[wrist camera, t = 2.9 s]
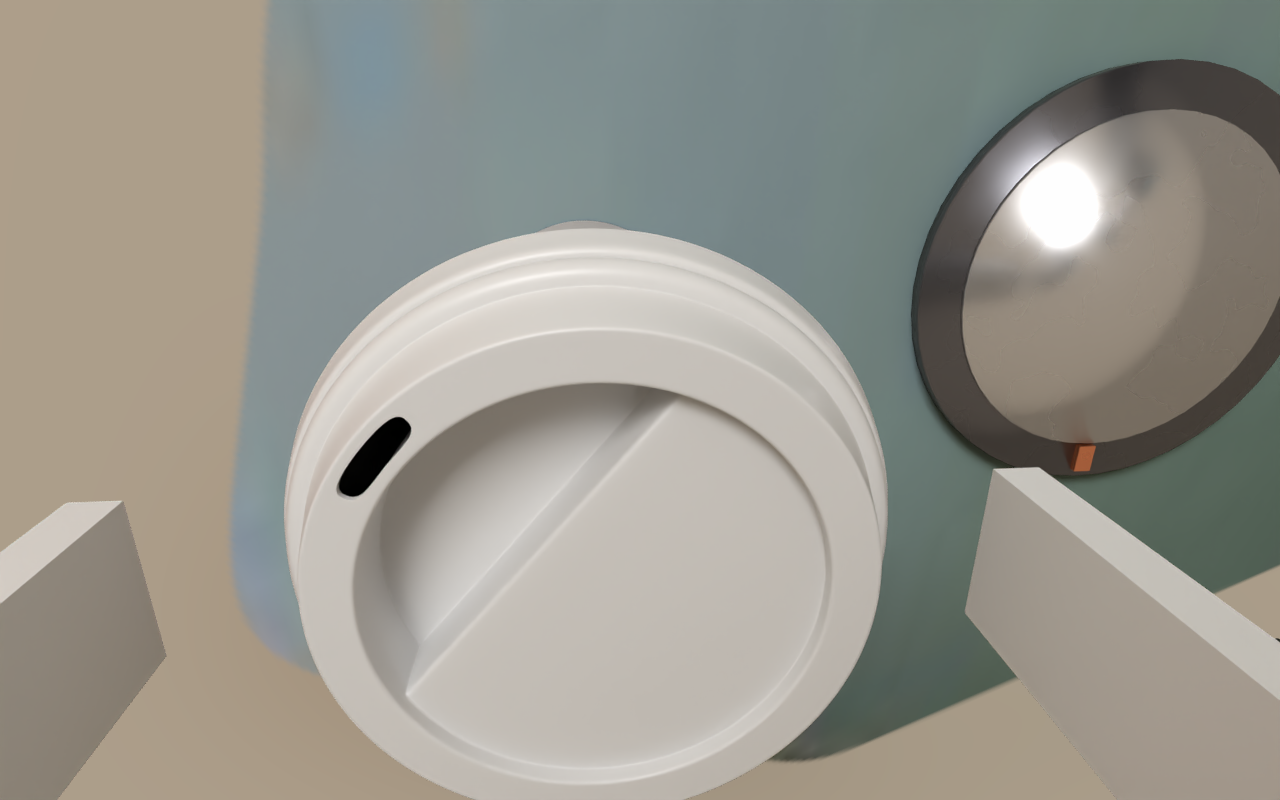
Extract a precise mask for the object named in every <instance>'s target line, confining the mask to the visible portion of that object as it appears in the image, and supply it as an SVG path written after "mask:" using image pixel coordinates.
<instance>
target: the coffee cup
mask: <svg viewBox="0 0 1280 800" xmlns="http://www.w3.org/2000/svg"><path fill="white" fill-rule="evenodd" d="M887 521H888V489H887V476H886V468H885V462H884V456H883V451H882V447H881V442H880V439H879V435H878V431H877V428H876V425H875V422H874V418H873V415H872V412H871V409H870V406H869V403H868V401H867V398H866V396H865V393H864V391H863V389H862V387H861V385H860V383H859V381H858V378H857V376H856V375H855V373H854V371H853V369H852V367H851V366H850V364H849V362H848V361H847V359H846V358H845V356H844V354H843V353H842V352H841V350H840V349H839V347H838V346H837V344H836V343H835V342H834V341H833V339H832V338H831V337H830V335H829V334H828V333H827V332H826V331H825V329H824V328H823V327H822V326H821V325H820V324H819V323H818V322H817V321H816V320H815V318H814V317H813V316H812V315H811V314H810V313H809V312H808V311H806V310H805V309H804V308H803V307H802V306H801V305H800V304H799V303H798V302H797V301H795V300H794V299H793V298H792V297H791V296H789V295H788V294H787V293H786V292H784V291H783V290H782V289H780V288H779V287H778V286H776V285H775V284H773V283H772V282H771V281H769V280H768V279H766V278H764V277H763V276H761V275H760V274H758V273H756V272H755V271H753V270H751V269H749V268H748V267H746V266H744V265H742V264H740V263H738V262H736V261H734V260H732V259H730V258H728V257H726V256H723V255H721V254H719V253H716V252H714V251H711V250H709V249H706V248H703V247H700V246H698V245H695V244H691V243H688V242H685V241H681V240H678V239H674V238H670V237H665V236H661V235H656V234H650V233H644V232H638V231H629V230H626V229H623V228H621V227H618V226H615V225H612V224H608V223H603V222H597V221H571V222H565V223H560V224H556V225H553V226H550V227H547V228H545V229H543V230H540V231H538V232H537V233H533V234H528V235H523V236H518V237H514V238H510V239H506V240H502V241H499V242H495V243H492V244H489V245H486V246H483V247H480V248H477V249H474V250H472V251H469V252H467V253H464V254H462V255H459V256H457V257H455V258H453V259H450V260H448V261H446V262H444V263H442V264H440V265H438V266H436V267H434V268H433V269H431V270H429V271H427V272H425V273H424V274H422V275H420V276H419V277H417V278H416V279H414V280H412V281H411V282H409V283H408V284H406V285H405V286H403V287H402V288H401V289H399V290H398V291H396V292H395V293H394V294H393V295H391V296H390V297H389V298H387V299H386V300H385V301H384V302H383V303H381V304H380V305H379V306H378V307H377V308H375V309H374V310H373V311H372V312H371V313H370V314H369V315H368V316H367V317H366V318H365V319H364V320H363V321H362V322H361V323H360V324H359V325H358V326H357V327H356V328H355V329H354V330H353V332H352V333H351V334H350V335H349V336H348V337H347V338H346V340H345V341H344V342H343V343H342V345H341V346H340V347H339V348H338V350H337V351H336V353H335V354H334V355H333V357H332V358H331V360H330V361H329V363H328V364H327V366H326V367H325V369H324V371H323V372H322V374H321V376H320V378H319V379H318V381H317V383H316V385H315V387H314V389H313V391H312V393H311V395H310V397H309V399H308V402H307V404H306V406H305V409H304V411H303V414H302V417H301V420H300V423H299V426H298V429H297V433H296V436H295V440H294V444H293V449H292V454H291V459H290V464H289V469H288V475H287V481H286V489H285V503H284V524H285V537H286V547H287V557H288V563H289V569H290V574H291V579H292V583H293V586H294V590H295V594H296V597H297V600H298V603H299V609H300V615H301V620H302V625H303V629H304V633H305V637H306V640H307V643H308V646H309V649H310V652H311V655H312V657H313V660H314V662H315V664H316V666H317V669H318V671H319V673H320V675H321V677H322V679H323V680H324V682H325V684H326V686H327V687H328V689H329V691H330V692H331V694H332V695H333V697H334V698H335V700H336V701H337V703H338V704H339V705H340V707H341V708H342V709H343V711H344V712H345V713H346V714H347V716H348V717H349V718H350V719H351V720H352V721H353V723H354V724H355V725H356V726H357V727H358V728H359V729H360V730H361V731H362V732H363V733H364V734H365V735H366V736H367V737H368V738H369V739H370V740H371V741H372V742H374V743H375V744H376V745H377V746H378V747H379V748H381V749H382V750H383V751H384V752H385V753H387V754H388V755H389V756H391V757H392V758H393V759H395V760H396V761H398V762H399V763H401V764H402V765H404V766H405V767H407V768H408V769H410V770H412V771H413V772H415V773H416V774H418V775H420V776H421V777H423V778H425V779H427V780H429V781H431V782H433V783H435V784H437V785H439V786H441V787H444V788H446V789H448V790H450V791H453V792H455V793H458V794H460V795H463V796H465V797H468V798H471V799H475V800H685V799H688V798H691V797H694V796H697V795H700V794H702V793H705V792H708V791H710V790H712V789H715V788H717V787H719V786H721V785H724V784H726V783H728V782H730V781H732V780H734V779H736V778H738V777H740V776H742V775H743V774H745V773H747V772H749V771H750V770H752V769H754V768H756V767H757V766H759V765H760V764H762V763H764V762H765V761H766V760H768V759H769V758H771V757H772V756H774V755H775V754H777V753H778V752H779V751H781V750H782V749H783V748H784V747H786V746H787V745H788V744H790V743H791V742H792V741H793V740H794V739H795V738H797V737H798V736H799V735H800V734H801V733H802V732H803V731H804V730H805V729H807V728H808V727H809V726H810V725H811V724H812V723H813V722H814V721H815V719H816V718H817V717H818V716H819V715H820V714H821V713H822V712H823V711H824V709H825V708H826V707H827V706H828V705H829V703H830V702H831V701H832V700H833V698H834V697H835V696H836V694H837V693H838V692H839V690H840V689H841V687H842V686H843V684H844V683H845V681H846V680H847V678H848V677H849V675H850V673H851V672H852V670H853V668H854V666H855V664H856V663H857V661H858V659H859V657H860V655H861V652H862V650H863V648H864V646H865V643H866V641H867V638H868V636H869V633H870V630H871V627H872V624H873V620H874V617H875V613H876V608H877V604H878V598H879V592H880V584H881V571H882V562H883V557H884V551H885V544H886V536H887Z"/></svg>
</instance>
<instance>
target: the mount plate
mask: <svg viewBox="0 0 1280 800" xmlns="http://www.w3.org/2000/svg"><path fill="white" fill-rule="evenodd" d="M911 317H912V336H913V344H914V349H915V354H916V359H917V364H918V367H919V370H920V372H921V375H922V378H923V381H924V384H925V386H926V388H927V390H928V392H929V394H930V395H931V397H932V399H933V401H934V403H935V405H936V406H937V407H938V409H939V410H940V411H941V413H942V414H943V415H944V417H945V418H946V419H947V420H948V422H949V423H950V424H951V425H952V426H953V427H955V428H956V429H957V430H958V431H959V432H960V433H961V434H962V435H963V436H964V437H965V438H966V439H968V440H969V441H970V442H971V443H973V444H974V445H976V446H977V447H978V448H980V449H981V450H983V451H984V452H986V453H987V454H989V455H990V456H992V457H994V458H996V459H998V460H1001V461H1003V462H1005V463H1007V464H1009V465H1012V466H1015V467H1018V468H1033V467H1039V468H1040V469H1042V470H1043V471H1045V472H1046V473H1047V474H1051V475H1075V476H1076V475H1087V474H1097V473H1103V472H1108V471H1113V470H1117V469H1122V468H1126V467H1129V466H1132V465H1135V464H1138V463H1141V462H1144V461H1147V460H1149V459H1152V458H1154V457H1156V456H1158V455H1161V454H1163V453H1165V452H1168V451H1170V450H1172V449H1174V448H1175V447H1177V446H1179V445H1181V444H1182V443H1184V442H1186V441H1188V440H1189V439H1191V438H1193V437H1195V436H1196V435H1198V434H1199V433H1200V432H1202V431H1203V430H1205V429H1206V428H1208V427H1209V426H1210V425H1212V424H1213V423H1215V422H1216V421H1217V420H1219V419H1220V418H1221V417H1222V416H1223V415H1225V414H1226V413H1227V412H1228V411H1229V410H1230V409H1232V408H1233V407H1234V406H1235V405H1236V404H1238V403H1239V402H1240V401H1241V399H1242V398H1243V397H1244V396H1245V395H1246V394H1247V393H1248V392H1249V391H1250V390H1251V389H1252V388H1253V387H1254V386H1255V385H1256V384H1257V383H1258V382H1259V381H1260V380H1261V378H1262V377H1263V376H1264V375H1265V373H1266V372H1267V371H1268V370H1269V368H1270V367H1271V366H1272V365H1273V364H1274V362H1275V361H1276V360H1277V358H1278V357H1279V355H1280V95H1279V94H1277V93H1276V92H1275V91H1273V90H1272V89H1270V88H1269V87H1268V86H1266V85H1265V84H1263V83H1262V82H1261V81H1259V80H1258V79H1255V78H1253V77H1251V76H1249V75H1247V74H1245V73H1243V72H1240V71H1238V70H1236V69H1234V68H1230V67H1226V66H1222V65H1219V64H1215V63H1211V62H1205V61H1194V60H1184V59H1176V60H1160V61H1147V62H1137V63H1132V64H1127V65H1123V66H1118V67H1113V68H1108V69H1105V70H1102V71H1100V72H1097V73H1094V74H1091V75H1088V76H1085V77H1082V78H1080V79H1078V80H1076V81H1073V82H1071V83H1069V84H1067V85H1065V86H1063V87H1061V88H1059V89H1057V90H1055V91H1053V92H1051V93H1050V94H1048V95H1047V96H1045V97H1044V98H1042V99H1041V100H1039V101H1038V102H1036V103H1035V104H1033V105H1031V106H1030V107H1028V108H1027V109H1025V110H1024V111H1023V112H1022V113H1020V114H1019V115H1018V116H1017V117H1015V118H1014V119H1013V120H1012V121H1011V122H1009V123H1008V124H1007V125H1006V126H1005V127H1003V128H1002V129H1001V130H1000V131H999V132H998V133H997V134H996V135H995V136H994V137H993V138H992V139H991V140H990V141H989V142H988V143H987V144H986V145H985V146H984V147H983V148H982V149H981V150H980V151H979V152H978V154H977V155H976V156H975V157H974V159H973V160H972V161H971V162H970V164H969V165H968V166H967V168H966V169H965V170H964V171H963V173H962V174H961V175H960V177H959V178H958V179H957V181H956V183H955V184H954V186H953V187H952V189H951V191H950V192H949V194H948V196H947V197H946V199H945V200H944V202H943V204H942V205H941V207H940V210H939V212H938V214H937V216H936V218H935V220H934V222H933V224H932V227H931V229H930V231H929V233H928V236H927V239H926V242H925V245H924V248H923V251H922V254H921V257H920V260H919V264H918V269H917V273H916V278H915V283H914V288H913V300H912V312H911Z"/></svg>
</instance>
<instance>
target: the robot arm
mask: <svg viewBox="0 0 1280 800" xmlns="http://www.w3.org/2000/svg"><path fill="white" fill-rule="evenodd" d="M965 613H966V615H967V616H968V617H969V618H970V620H971V621H972V622H973V623H974V624H975V626H976V627H977V628H978V629H979V631H980V632H981V633H982V634H983V636H984V637H985V638H986V639H987V640H988V642H989V643H990V644H991V645H992V647H993V648H994V649H995V650H996V652H997V653H998V654H999V655H1000V656H1001V658H1002V659H1003V660H1004V661H1005V663H1006V664H1007V665H1008V666H1009V667H1010V669H1011V670H1012V671H1013V672H1014V674H1015V675H1016V676H1017V677H1018V679H1019V680H1020V681H1021V682H1022V683H1023V685H1024V686H1025V687H1026V688H1027V690H1028V691H1029V692H1030V693H1031V694H1032V696H1033V697H1034V698H1035V699H1036V701H1037V702H1038V703H1039V704H1040V706H1041V707H1042V708H1043V709H1044V710H1045V712H1046V713H1047V714H1048V715H1049V717H1050V718H1051V719H1052V720H1053V722H1054V723H1055V724H1056V725H1057V726H1058V728H1059V729H1060V730H1061V731H1062V733H1063V734H1064V735H1065V736H1066V737H1067V739H1068V740H1069V741H1070V742H1071V743H1072V745H1073V746H1074V747H1075V749H1076V750H1077V751H1078V752H1079V753H1080V755H1081V756H1082V757H1083V758H1084V760H1085V761H1086V762H1087V763H1088V765H1089V766H1090V767H1091V768H1092V769H1093V770H1094V772H1095V773H1096V774H1097V776H1098V777H1099V778H1100V779H1101V781H1102V782H1103V783H1104V784H1105V785H1106V787H1107V788H1108V789H1109V790H1110V792H1111V793H1112V794H1113V795H1114V797H1115V798H1116V799H1117V800H1280V639H1277V638H1276V639H1275V638H1273V637H1271V636H1270V635H1269V634H1268V633H1266V632H1265V631H1263V630H1262V629H1261V628H1259V627H1258V626H1257V625H1255V624H1254V623H1252V622H1251V621H1250V620H1248V619H1247V618H1246V617H1244V616H1243V615H1241V614H1240V613H1239V612H1237V611H1236V610H1234V609H1233V608H1232V607H1230V606H1229V605H1228V604H1226V603H1225V602H1224V601H1222V600H1221V599H1219V598H1218V597H1217V596H1215V595H1214V594H1213V593H1211V592H1210V591H1208V590H1207V589H1206V588H1204V587H1203V586H1202V585H1200V584H1199V583H1197V582H1196V581H1195V580H1193V579H1192V578H1191V577H1189V576H1188V575H1186V574H1185V573H1184V572H1182V571H1181V570H1179V569H1178V568H1177V567H1175V566H1174V565H1173V564H1171V563H1170V562H1168V561H1167V560H1166V559H1164V558H1163V557H1162V556H1160V555H1159V554H1157V553H1156V552H1155V551H1153V550H1152V549H1151V548H1149V547H1148V546H1146V545H1145V544H1144V543H1142V542H1141V541H1140V540H1138V539H1137V538H1135V537H1134V536H1133V535H1131V534H1130V533H1129V532H1127V531H1126V530H1124V529H1123V528H1122V527H1120V526H1119V525H1118V524H1116V523H1115V522H1113V521H1112V520H1111V519H1109V518H1108V517H1107V516H1105V515H1104V514H1102V513H1101V512H1100V511H1098V510H1097V509H1095V508H1094V507H1093V506H1091V505H1090V504H1089V503H1087V502H1086V501H1084V500H1083V499H1082V498H1080V497H1079V496H1078V495H1076V494H1075V493H1073V492H1072V491H1071V490H1069V489H1068V488H1067V487H1065V486H1064V485H1062V484H1061V483H1060V482H1058V481H1057V480H1056V479H1054V478H1053V477H1051V476H1050V475H1049V474H1047V473H1046V472H1045V471H1043V470H1042V469H1040V468H1039V467H1033V468H1005V469H993V473H992V478H991V483H990V488H989V493H988V498H987V503H986V508H985V513H984V518H983V523H982V528H981V533H980V538H979V543H978V548H977V553H976V558H975V563H974V568H973V573H972V578H971V583H970V588H969V593H968V598H967V603H966V608H965ZM165 657H166V653H165V649H164V646H163V642H162V638H161V635H160V631H159V628H158V624H157V620H156V617H155V613H154V610H153V606H152V603H151V599H150V595H149V592H148V588H147V584H146V581H145V577H144V574H143V570H142V567H141V563H140V559H139V556H138V552H137V549H136V545H135V541H134V538H133V534H132V531H131V527H130V523H129V520H128V516H127V513H126V509H125V506H124V502H123V501H101V502H75V503H74V502H73V503H65V504H64V505H63V506H62V507H60V508H59V509H57V510H56V511H55V512H53V513H52V514H51V515H49V516H48V517H47V518H45V519H44V520H43V521H41V522H40V523H39V524H37V525H36V526H35V527H33V528H32V529H31V530H30V531H28V532H27V533H25V534H24V535H23V536H21V537H20V538H19V539H17V540H16V541H15V542H13V543H12V544H11V545H9V546H8V547H7V548H5V549H4V550H3V551H2V552H0V800H57V799H58V798H59V797H60V795H61V794H62V793H63V791H64V790H65V789H66V788H67V786H68V785H69V784H70V782H71V781H72V780H73V778H74V777H75V776H76V774H77V773H78V772H79V770H80V769H81V768H82V766H83V765H84V764H85V763H86V761H87V760H88V759H89V757H90V756H91V755H92V753H93V752H94V751H95V749H96V748H97V747H98V745H99V744H100V743H101V741H102V740H103V739H104V738H105V736H106V735H107V734H108V732H109V731H110V730H111V728H112V727H113V726H114V724H115V723H116V722H117V720H118V719H119V718H120V716H121V715H122V714H123V713H124V711H125V710H126V709H127V707H128V706H129V705H130V703H131V702H132V701H133V699H134V698H135V697H136V695H137V694H138V693H139V691H140V690H141V689H142V688H143V686H144V685H145V684H146V682H147V681H148V680H149V678H150V677H151V676H152V674H153V673H154V672H155V670H156V669H157V668H158V666H159V665H160V664H161V662H162V661H163V660H164V659H165Z"/></svg>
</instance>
